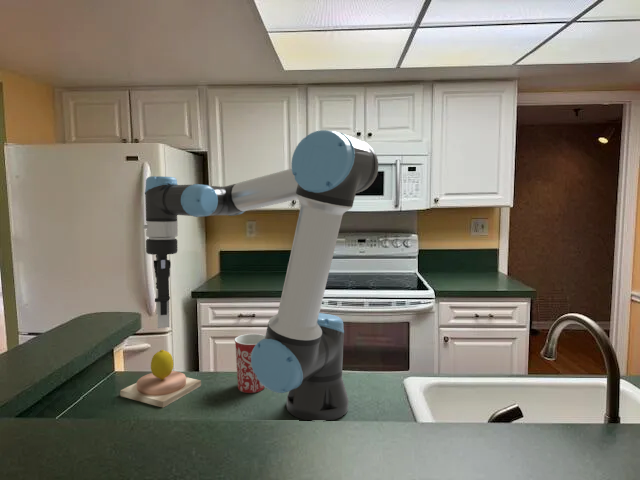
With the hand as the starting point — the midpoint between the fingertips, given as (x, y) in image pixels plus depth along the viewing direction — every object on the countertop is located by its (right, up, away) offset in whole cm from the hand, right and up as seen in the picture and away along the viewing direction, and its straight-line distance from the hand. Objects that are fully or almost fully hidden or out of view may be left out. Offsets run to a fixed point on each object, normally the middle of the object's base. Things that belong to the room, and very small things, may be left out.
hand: (162, 320), depth 113 cm
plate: (-1, -19, +2) cm, 19 cm away
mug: (+23, -19, +6) cm, 31 cm away
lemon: (-1, -16, +1) cm, 16 cm away
